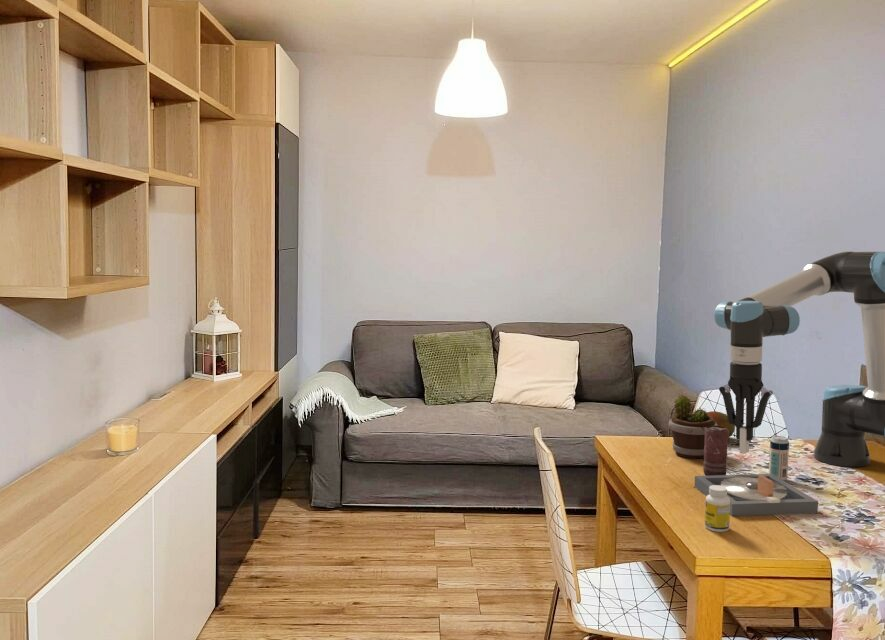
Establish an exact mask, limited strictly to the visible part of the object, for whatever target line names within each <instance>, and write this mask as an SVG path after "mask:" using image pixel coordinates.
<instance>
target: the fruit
mask: <svg viewBox="0 0 885 640" xmlns="http://www.w3.org/2000/svg"><path fill="white" fill-rule="evenodd" d="M705 412H706V413H707V415H709V416H711V417H713V419H714V421H715V422H716V423H717V425H718V426H721V427H725V428H727V429H728V430H729V438H730V437H731V436H732V435H733V434H734V433H735V432H736V426H735V425H733V424H730V423H729V421H728V417H727V413H724V412H721V411H716V410H715V411H711V410H710V411H705Z"/></svg>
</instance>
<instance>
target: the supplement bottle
mask: <svg viewBox="0 0 885 640" xmlns="http://www.w3.org/2000/svg"><path fill="white" fill-rule="evenodd" d="M709 494H710V495H708V496H706V497H705V507H704V508H705V511H704V512H705V514H704V526H705V528H706V529H707V530H709V531H712V532H716V533H717V532H718V533H723V532H724V533H725V532H727V531H729V530H730V518H731V517H730V516H731V515H730V499H729V498H728V497H727V496H726V495H727V488H726V487H724V486H720V485H712V486H710V487H709Z"/></svg>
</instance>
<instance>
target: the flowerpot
mask: <svg viewBox="0 0 885 640" xmlns="http://www.w3.org/2000/svg"><path fill="white" fill-rule="evenodd" d="M688 397H689V395H686V394H684V393H683V392H681V394H680V393H679V395H677V396H676V398H675V399H674V400H673V406H672V408H673V410H674V411H673V412H674V415H673V416H672V417H671V418H670V419H669V421H668V428H669V429H670V431H671V434H672V439H673V442H672V444H671V445H672V449H673V451H674V453H675V454H676V455H677V456H679V457H683V458H687V459H704V446H705V430H706V427H707V426H718V425H717V423H716V422H715V421H714V419H713V417H711V416H709V415H707V413H706V412H707V410H706V408H702V407H701V406H698V409H695V410H694V411H692V408H693V405H694V404H693V403H692V399H691V398H690V397H689V398H688Z"/></svg>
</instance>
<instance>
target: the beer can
mask: <svg viewBox="0 0 885 640" xmlns="http://www.w3.org/2000/svg"><path fill="white" fill-rule="evenodd" d="M769 443H770V444H769V464H768V474H773V475H775V476H777V477H778V478H780V479H782V480H783V481H785V482H786V481H787V480H788V473H789V472H788V471H789V470H788V469H789V455H790V454H789V452H790V441H789V439H788V437H785V436H782V435H773V436H772V437H771V439H770V441H769Z"/></svg>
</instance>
